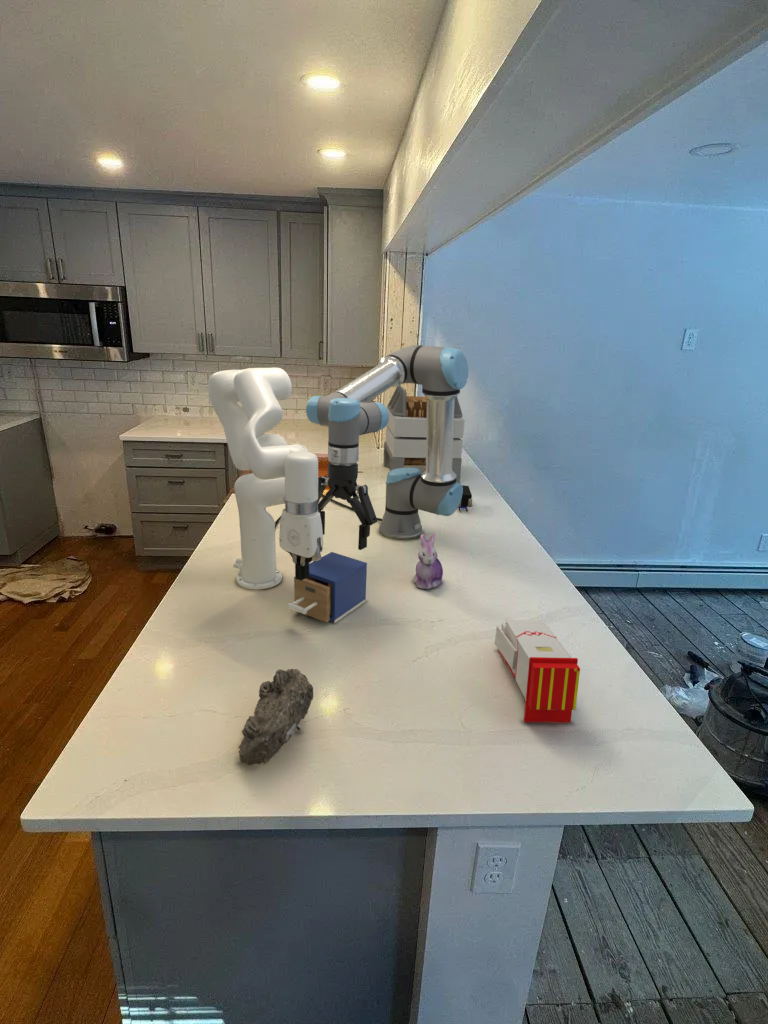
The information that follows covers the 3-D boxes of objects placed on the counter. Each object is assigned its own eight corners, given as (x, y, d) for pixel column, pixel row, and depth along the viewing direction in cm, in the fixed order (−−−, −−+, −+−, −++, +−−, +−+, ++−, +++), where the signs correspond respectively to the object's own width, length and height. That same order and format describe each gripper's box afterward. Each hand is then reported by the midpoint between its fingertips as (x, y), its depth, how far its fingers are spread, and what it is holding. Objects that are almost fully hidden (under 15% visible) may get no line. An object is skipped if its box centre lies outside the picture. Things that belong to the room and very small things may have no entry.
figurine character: (472, 516, 224) (466, 500, 237) (474, 499, 220) (469, 483, 234) (455, 515, 224) (451, 499, 237) (457, 498, 220) (452, 483, 234)
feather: (290, 508, 223) (292, 504, 223) (272, 532, 197) (275, 527, 196) (286, 505, 223) (289, 501, 223) (268, 529, 197) (271, 525, 196)
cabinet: (334, 622, 142) (335, 581, 138) (299, 608, 148) (298, 569, 144) (365, 601, 153) (367, 562, 149) (331, 589, 159) (331, 551, 155)
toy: (541, 605, 135) (589, 664, 106) (536, 657, 138) (581, 729, 108) (490, 604, 135) (524, 663, 105) (486, 656, 137) (518, 728, 108)
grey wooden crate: (382, 463, 289) (386, 382, 275) (445, 464, 293) (451, 384, 279) (390, 482, 257) (394, 392, 243) (460, 483, 261) (468, 394, 247)
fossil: (254, 669, 115) (309, 637, 110) (285, 700, 118) (340, 670, 113) (215, 759, 96) (280, 724, 91) (253, 792, 99) (319, 761, 94)
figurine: (423, 593, 159) (426, 543, 153) (405, 577, 167) (408, 530, 162) (451, 587, 163) (455, 538, 158) (432, 572, 171) (436, 526, 166)
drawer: (312, 632, 136) (312, 597, 132) (279, 619, 141) (278, 585, 138) (355, 603, 150) (356, 570, 147) (324, 591, 155) (324, 560, 152)
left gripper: (266, 503, 131) (268, 574, 137) (316, 517, 123) (316, 592, 130) (288, 495, 137) (289, 564, 143) (337, 508, 129) (336, 580, 136)
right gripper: (294, 456, 143) (294, 534, 150) (376, 474, 131) (372, 558, 138) (313, 451, 149) (312, 526, 156) (393, 468, 137) (389, 549, 144)
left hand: (302, 577), depth 136 cm, fingers closed
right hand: (340, 541), depth 147 cm, fingers open, 13 cm apart
